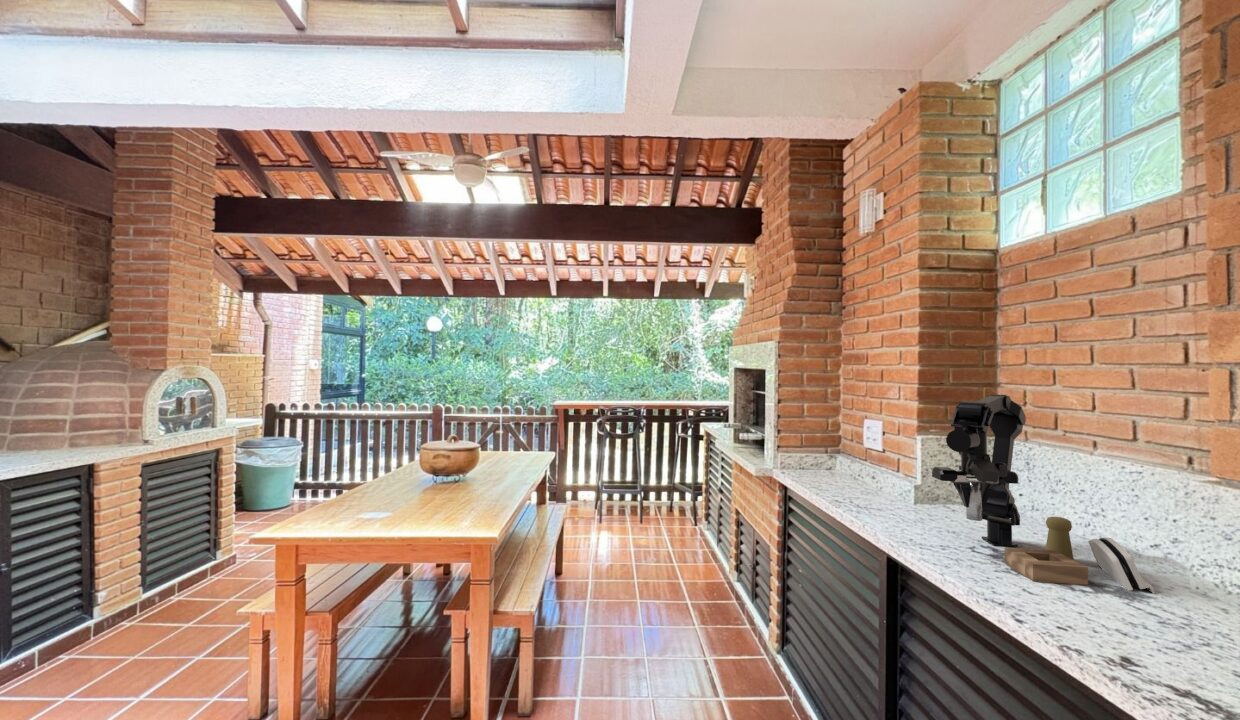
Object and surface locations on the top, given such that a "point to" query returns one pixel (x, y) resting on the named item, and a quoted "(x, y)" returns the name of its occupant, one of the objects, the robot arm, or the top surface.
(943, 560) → the top surface
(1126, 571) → the grey black curved wedge
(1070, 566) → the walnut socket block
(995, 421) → the robot arm
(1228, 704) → the top surface
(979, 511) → the grey metal peg
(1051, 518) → the cork
